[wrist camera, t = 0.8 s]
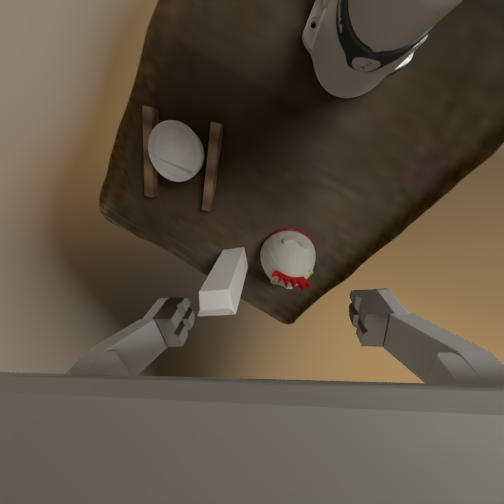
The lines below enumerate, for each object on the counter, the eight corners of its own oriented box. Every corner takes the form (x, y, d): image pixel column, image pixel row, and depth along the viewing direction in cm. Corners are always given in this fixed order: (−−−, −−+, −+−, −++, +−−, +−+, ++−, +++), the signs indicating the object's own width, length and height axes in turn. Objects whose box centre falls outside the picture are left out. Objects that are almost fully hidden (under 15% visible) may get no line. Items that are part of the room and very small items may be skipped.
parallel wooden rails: (149, 107, 42) (142, 104, 40) (223, 125, 42) (220, 123, 40) (150, 193, 50) (144, 195, 48) (212, 209, 50) (209, 211, 47)
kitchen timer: (304, 281, 56) (312, 320, 42) (255, 269, 56) (249, 305, 42) (321, 235, 50) (338, 264, 36) (267, 222, 50) (264, 247, 36)
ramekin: (170, 183, 48) (159, 186, 44) (153, 130, 44) (138, 127, 39) (214, 174, 46) (207, 176, 42) (200, 118, 42) (191, 113, 37)
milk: (222, 249, 54) (191, 302, 34) (244, 247, 53) (224, 299, 33) (227, 269, 57) (201, 328, 37) (248, 266, 56) (232, 327, 36)
